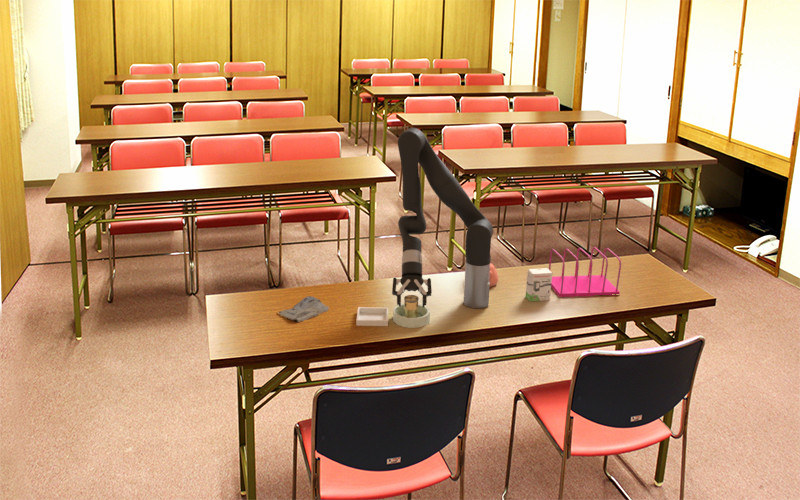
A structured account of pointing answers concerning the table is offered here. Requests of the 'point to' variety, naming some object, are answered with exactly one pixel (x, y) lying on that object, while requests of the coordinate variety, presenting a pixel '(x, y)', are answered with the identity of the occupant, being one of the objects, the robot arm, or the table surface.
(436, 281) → the table surface
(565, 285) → the file sorter
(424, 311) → the bowl
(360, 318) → the parts tray
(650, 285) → the table surface
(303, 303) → the fossil rock
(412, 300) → the glass jar with lid
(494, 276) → the teapot
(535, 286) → the ink box
